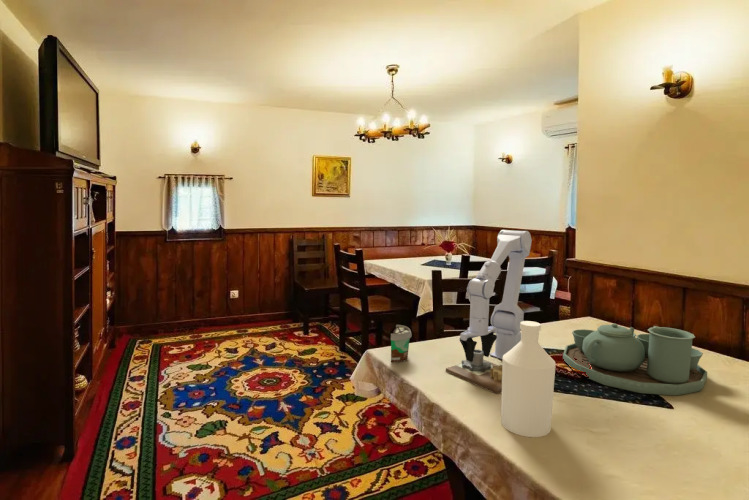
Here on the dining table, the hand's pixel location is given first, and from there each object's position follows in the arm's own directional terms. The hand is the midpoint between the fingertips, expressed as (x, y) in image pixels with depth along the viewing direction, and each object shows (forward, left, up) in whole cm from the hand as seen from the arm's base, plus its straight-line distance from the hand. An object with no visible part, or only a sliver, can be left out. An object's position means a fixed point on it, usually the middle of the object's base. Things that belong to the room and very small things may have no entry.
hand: (477, 358), depth 139 cm
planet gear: (0, 0, -3) cm, 3 cm away
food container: (+13, -22, -4) cm, 26 cm away
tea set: (-42, +27, -4) cm, 50 cm away
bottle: (+17, +30, -4) cm, 35 cm away
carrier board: (+1, +5, -4) cm, 6 cm away
